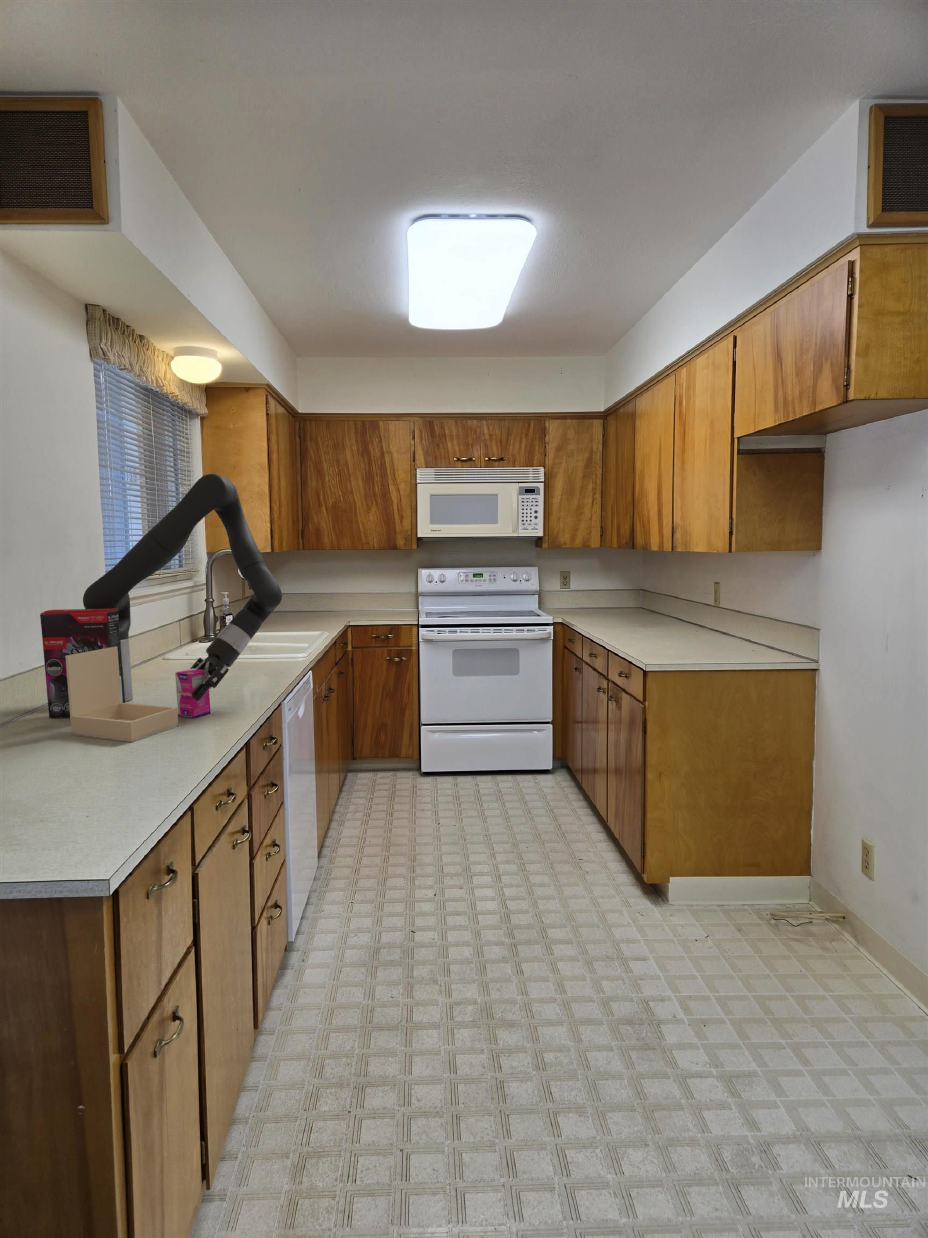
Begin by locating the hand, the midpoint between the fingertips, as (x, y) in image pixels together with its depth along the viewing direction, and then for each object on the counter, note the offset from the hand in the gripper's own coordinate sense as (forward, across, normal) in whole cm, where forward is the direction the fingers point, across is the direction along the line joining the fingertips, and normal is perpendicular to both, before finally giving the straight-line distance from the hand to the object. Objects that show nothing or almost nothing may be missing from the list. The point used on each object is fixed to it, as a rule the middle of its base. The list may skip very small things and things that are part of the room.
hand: (187, 695), depth 177 cm
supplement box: (+3, 0, +5) cm, 6 cm away
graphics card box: (+16, -20, -9) cm, 27 cm away
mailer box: (+15, +3, -8) cm, 17 cm away
